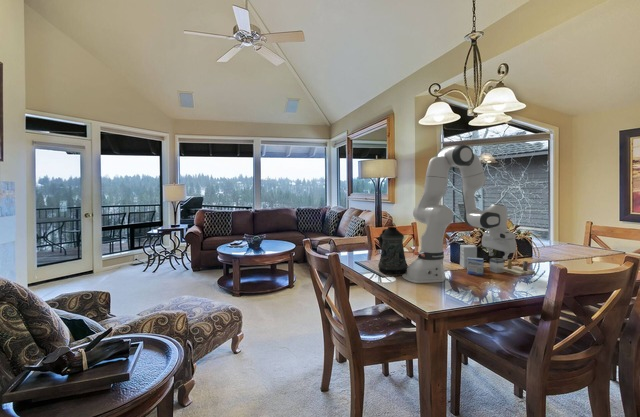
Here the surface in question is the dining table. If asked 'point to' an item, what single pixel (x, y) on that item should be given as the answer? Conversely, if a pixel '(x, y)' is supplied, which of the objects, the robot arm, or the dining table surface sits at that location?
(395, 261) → the black tall carved piece
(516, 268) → the pinboard
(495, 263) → the sleeve
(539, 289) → the dining table surface
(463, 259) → the supplement box
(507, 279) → the dining table surface
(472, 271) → the medicine box
